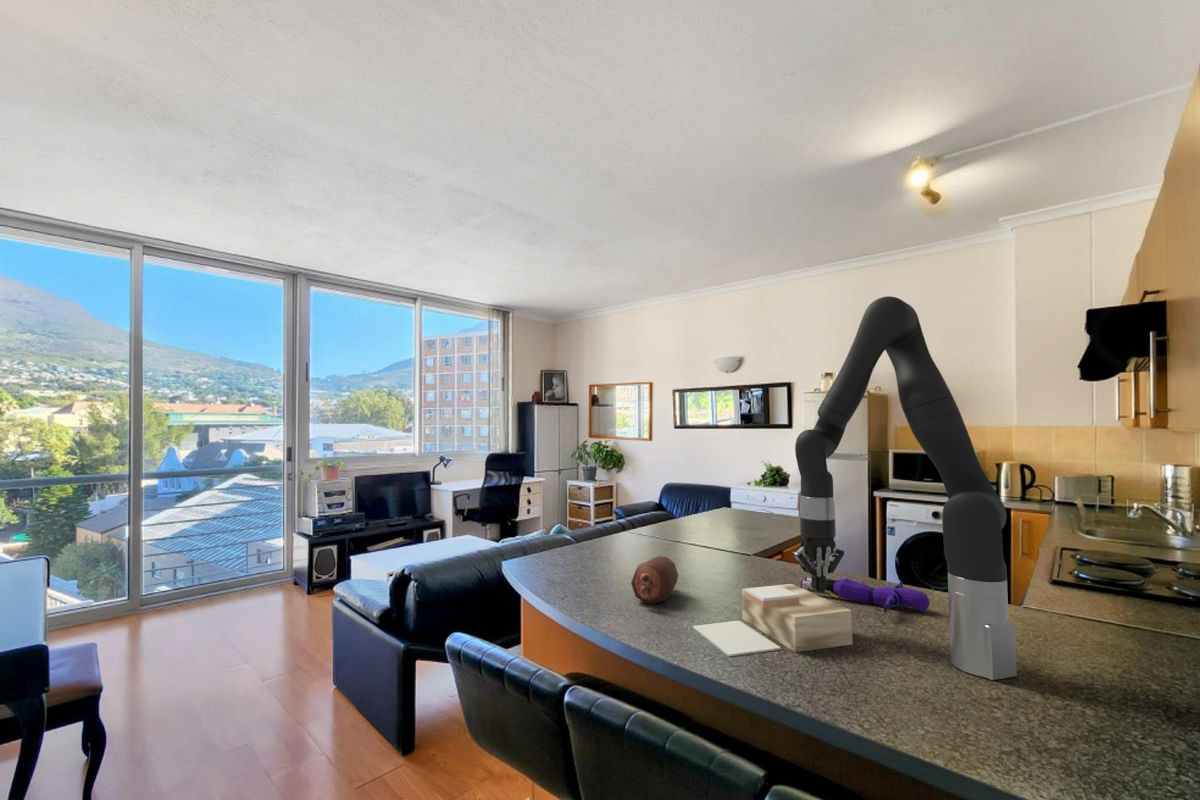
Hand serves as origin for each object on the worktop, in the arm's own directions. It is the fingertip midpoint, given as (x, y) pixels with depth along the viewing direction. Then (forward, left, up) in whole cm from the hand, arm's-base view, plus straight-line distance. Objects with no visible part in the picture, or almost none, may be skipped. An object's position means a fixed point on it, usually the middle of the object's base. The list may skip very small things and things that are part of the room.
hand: (819, 592), depth 121 cm
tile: (0, +12, -1) cm, 13 cm away
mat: (0, +22, -8) cm, 23 cm away
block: (0, +7, -8) cm, 10 cm away
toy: (+12, -23, -8) cm, 27 cm away
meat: (+30, +28, -8) cm, 42 cm away
